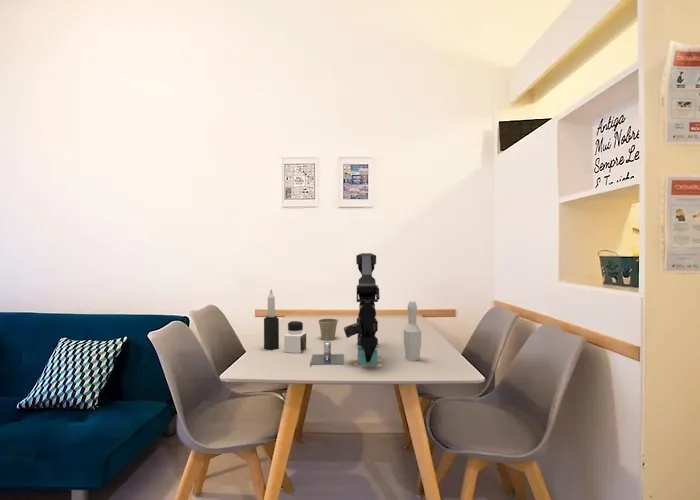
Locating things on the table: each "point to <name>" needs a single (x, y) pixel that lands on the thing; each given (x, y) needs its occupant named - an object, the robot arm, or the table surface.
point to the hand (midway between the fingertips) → (367, 359)
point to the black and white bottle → (271, 326)
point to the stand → (366, 365)
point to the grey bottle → (412, 334)
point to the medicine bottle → (295, 338)
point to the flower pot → (328, 328)
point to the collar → (363, 359)
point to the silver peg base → (327, 357)
